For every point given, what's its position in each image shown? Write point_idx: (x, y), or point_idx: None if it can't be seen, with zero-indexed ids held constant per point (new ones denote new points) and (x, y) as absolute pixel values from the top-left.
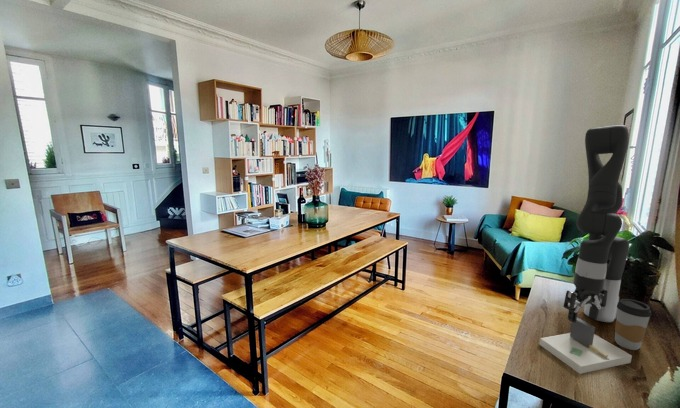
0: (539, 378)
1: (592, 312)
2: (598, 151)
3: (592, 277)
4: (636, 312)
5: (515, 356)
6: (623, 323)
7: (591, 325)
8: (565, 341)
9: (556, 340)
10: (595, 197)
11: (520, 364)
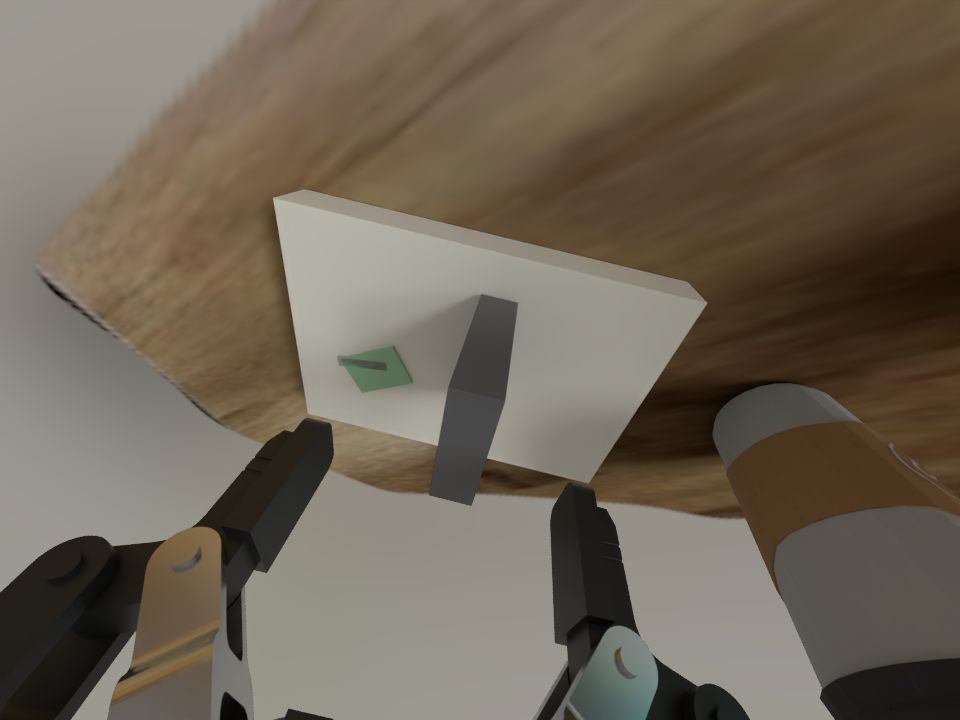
0: (152, 333)
1: (567, 558)
2: None
3: None
4: None
5: (98, 194)
6: (788, 545)
7: (469, 491)
8: (409, 301)
9: (361, 269)
10: None
11: (103, 248)
